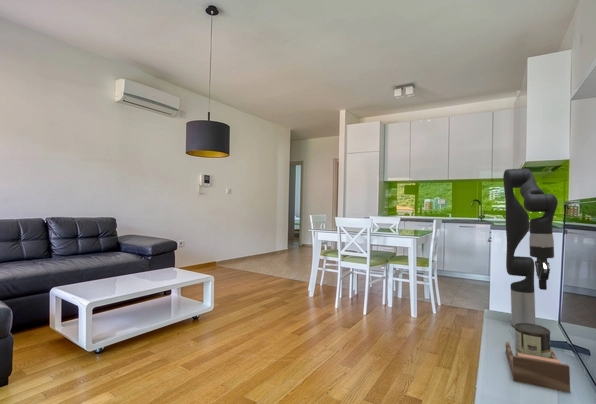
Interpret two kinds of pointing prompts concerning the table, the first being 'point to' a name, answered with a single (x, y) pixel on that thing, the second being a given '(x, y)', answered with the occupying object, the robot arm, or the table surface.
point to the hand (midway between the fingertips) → (542, 289)
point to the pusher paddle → (539, 358)
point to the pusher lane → (539, 371)
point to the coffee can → (532, 340)
